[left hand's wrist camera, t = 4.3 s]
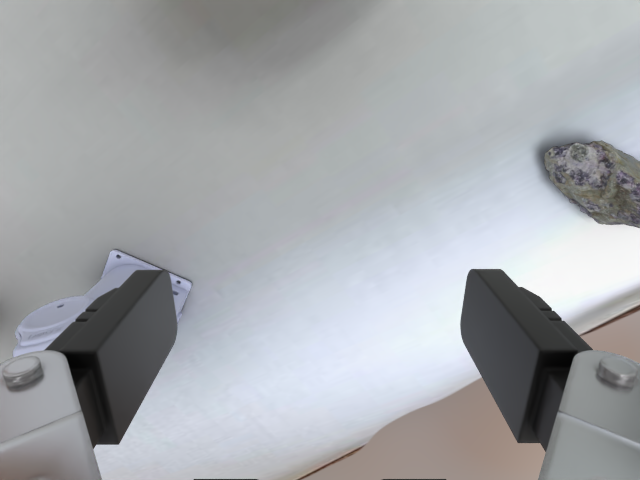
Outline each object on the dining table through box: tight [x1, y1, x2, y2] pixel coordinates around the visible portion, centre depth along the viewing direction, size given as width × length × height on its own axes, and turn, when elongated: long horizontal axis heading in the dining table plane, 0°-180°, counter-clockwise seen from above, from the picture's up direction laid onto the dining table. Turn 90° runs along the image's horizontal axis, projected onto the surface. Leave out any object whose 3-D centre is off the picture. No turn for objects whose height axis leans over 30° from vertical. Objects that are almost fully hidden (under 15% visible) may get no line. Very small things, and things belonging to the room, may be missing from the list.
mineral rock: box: [544, 141, 640, 228], centre depth 38 cm, size 13×11×10 cm
